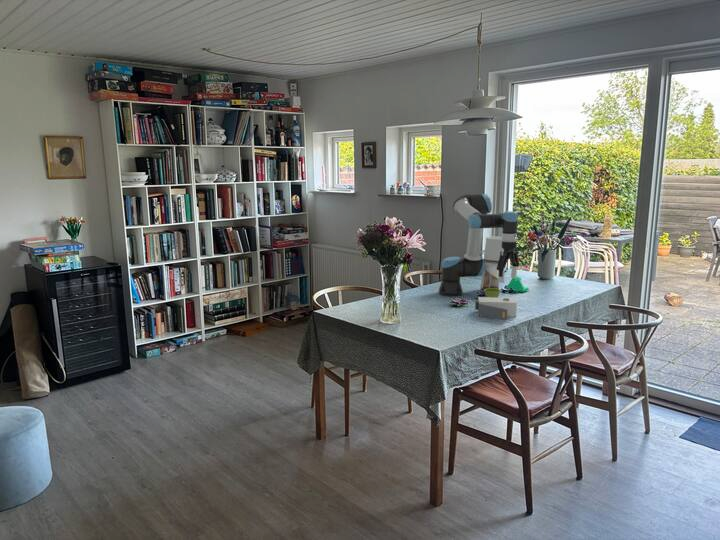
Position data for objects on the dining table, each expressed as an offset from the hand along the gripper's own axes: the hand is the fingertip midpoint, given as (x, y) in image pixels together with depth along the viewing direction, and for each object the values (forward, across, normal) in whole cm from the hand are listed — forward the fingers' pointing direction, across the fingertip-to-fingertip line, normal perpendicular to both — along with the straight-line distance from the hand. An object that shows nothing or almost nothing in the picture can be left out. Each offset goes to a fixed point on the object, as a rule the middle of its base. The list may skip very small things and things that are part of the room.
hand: (507, 280), depth 289 cm
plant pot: (+21, +21, +20) cm, 36 cm away
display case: (+21, +47, +37) cm, 63 cm away
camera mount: (+21, +61, +24) cm, 69 cm away
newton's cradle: (+21, +96, +64) cm, 117 cm away
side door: (+20, -6, +5) cm, 22 cm away
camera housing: (+21, +5, +8) cm, 23 cm away
